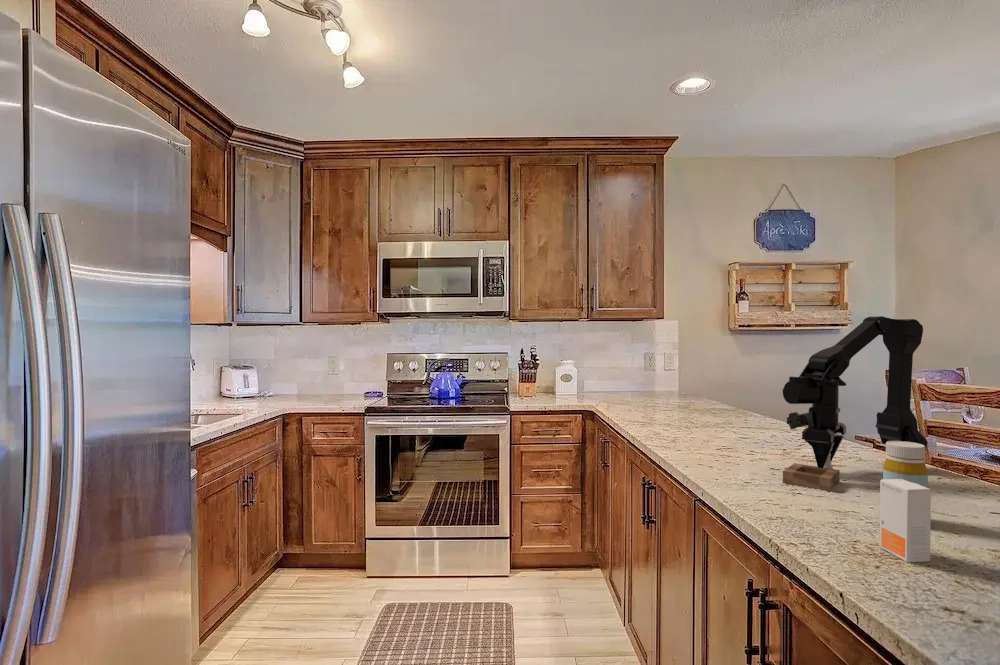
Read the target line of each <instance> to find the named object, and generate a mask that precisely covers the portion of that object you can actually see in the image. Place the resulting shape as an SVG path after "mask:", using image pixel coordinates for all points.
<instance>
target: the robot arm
mask: <svg viewBox="0 0 1000 665" xmlns="http://www.w3.org/2000/svg"><path fill="white" fill-rule="evenodd" d="M923 334H924V326H923V325H922V323H920V322H919V321H918V320H917V319H914V318H902V319H900V318H898V319H897V318H889V317H885V316H882V315H881V316H878V315H877V316H875V315H874V316H868V317H865V318H864V319H863V321H862V322H861V323H860V324H859V325H857V326H856V327H855V328H854V329H852V331H850V332H849V333H848V334H847V335H845V336H844V337H843V338H841V339H840V340H839V341H838V342H837V343H835V344H834V345H833V346H831V347H827V348H824V349H821V350H819V351H818V352H817V351H816V353H814V354H812V355H811V356H810V357H809V359H808V360H807V361H808V363H807V364H806V366H805V367H804V368H803V370H802V372H801V373H800V375H799V376H789V377H788V381H787V382H786V383H785V384H784V385H783V386H784V387H783V388H782V396H783V399H784V400H785V402H786V403H787V404H790V405H804V404H805V405H810V404H812V405H811V406H810V407H809V408H808V411H807V412H805V413H804V412H803V413H801V414H799V413H798V412H797V411H794V412H791V413H789V414H788V417H786V418H785V419H786V425H788V426H789V428H790V430H796V429H797V428H801V427H806V426H807V427H806V428H805V429H804V430H802V431H801V439H802V440H804V441H805V442H806V443H807V444H808V445H810V447H811V448H812V450H813V453H814V458H815V461H816V464H817V465H816V467H817V466H818V468H823V467H824V465H825V463H826V461H827V458H828V456H829V454H831V456H830V461H831V462H833V459H834V457H835V455H836V453H837V451H838V449H839V447H840V445H841V443H842V442H843V439H844V438H845V435H846V434H847V426H846V425H845V424H844V423H843V422H839V413H841V407H839V392H840V390H839V388H840V387H846V386H847V382H845V381H844V380H843V379H841V376H842V375H843V374H844V372H845V371H846V370H847V369H848V368H849V366H850V364H851V363H850V362H851V360H852V358H853V357H855V356H856V355H857V354H858V353H859V352H860V351H862V350H863V349H864V348H865V347H866V346H867V345H869V344H870V343H871V342H872V341H874V340H875V339H876V338H877V337H879V336H882V343H883V344H884V346H885V348H886V350H887V351H888V353H889V354H888V375H887V376H888V377H887V379H888V380H887V392H886V393H887V395H886V407H885V408H884V409H883V411H882V412H880V411H879V412H878V411H877V413H876V415H875V416H876V423H875V428H876V430H877V434H878V435H879V438H880V441H881V444H883V445H886V442H887V441H906V442H913V443H919V444H922V445H924V446H925V450H926V449H927V446H928V443H929V442H928V440H927V439H926V438H925V436H923V434H922V433H921V432H920V431H919V430H918V429H919V427H918V420H917V418H916V417H915V415H914V413H913V411H912V410H911V400H912V380H913V379H912V378H913V374H912V373H913V360H914V353H916V352H915V351H917V349H918V348H919V346H920V345H921V343H922V340H923V339H922V338H923ZM831 449H832V450H831Z"/></svg>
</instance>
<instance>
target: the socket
mask: <svg viewBox="0 0 1000 665" xmlns="http://www.w3.org/2000/svg"><path fill="white" fill-rule="evenodd" d="M840 475H841V474H840V469H835V468H833V469H829V468H818V467H817V465H816V466H814V465H808V464H803V463H802V464H801V463H796V462H794V463H793V464H791V465H790V466H788V467H786V468H785V469H783V470H782V484H784V483H785V484H784V485H789V484H790V485H791V486H795V485H797V487H800V486H803V487H802V488H806V487H808V488H807V489H812V488H814V489H813V490H817V489H820V490H819V491H823V490H825V491H824V492H829V491H830V492H831V491H832V490H834V488H835V487H837V486H838V485H839V483H840V480H841V478H840V477H841V476H840Z"/></svg>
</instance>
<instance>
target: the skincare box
mask: <svg viewBox="0 0 1000 665" xmlns="http://www.w3.org/2000/svg"><path fill="white" fill-rule="evenodd" d="M879 481H880V482H879V545H878V547H879V548H880V549H882V550H884V551H886V552H888V553H890V554H892V555H893V556H895V557H897V558H899V559H901V560H902V561H904V562H906V563H908V564H909V563H926V562H927V563H928V562H929V563H930V562H931V528H932V527H931V525H932V524H931V522H932V520H931V517H932V516H931V513H932V512H931V511H932V509H931V508H932V506H931V504H932V490H931V488H929V487H928V488H926V487H923V486H921V485H919V484H916V483H912V482H909V481H906V480H903V479H883V478H882V479H880V480H879Z"/></svg>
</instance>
